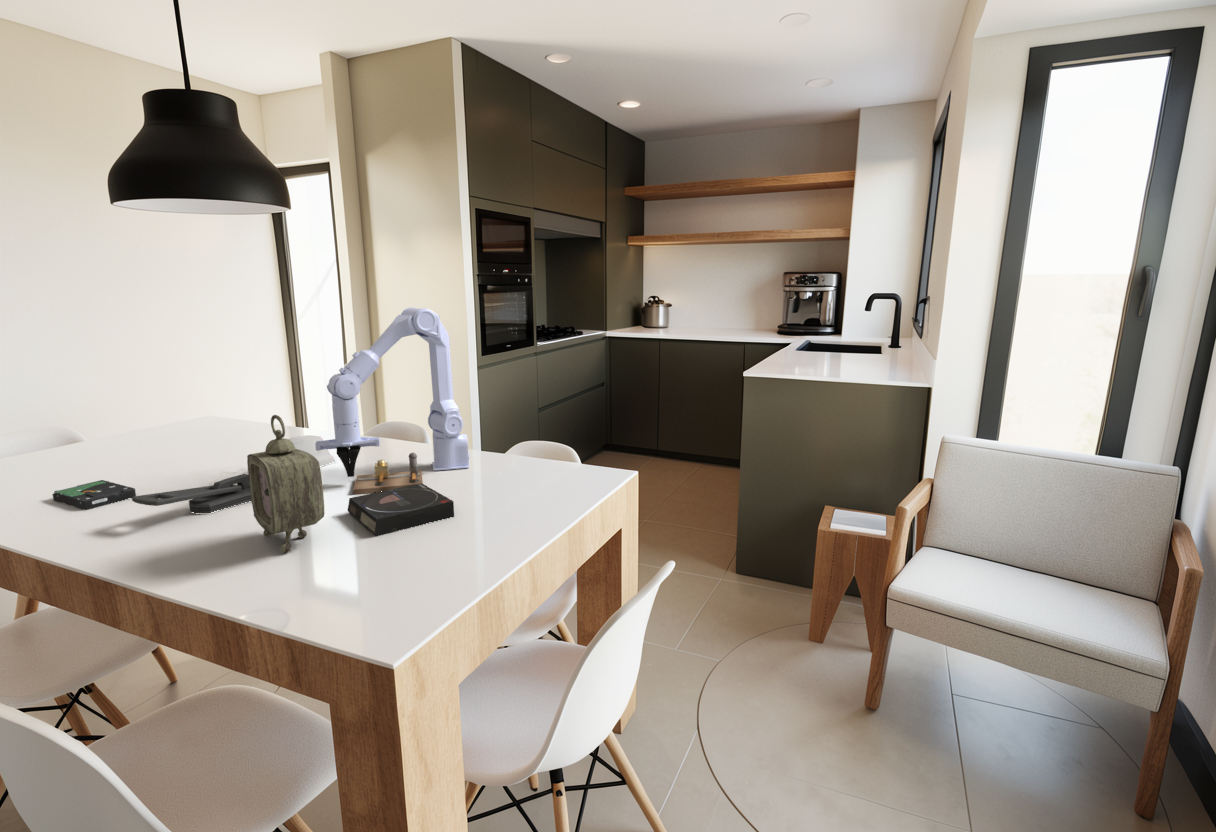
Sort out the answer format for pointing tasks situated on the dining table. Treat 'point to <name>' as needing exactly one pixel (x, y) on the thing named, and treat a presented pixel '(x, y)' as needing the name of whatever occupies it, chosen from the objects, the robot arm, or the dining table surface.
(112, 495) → the disk drive
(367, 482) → the plate
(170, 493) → the dark grey long piece
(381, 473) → the gold perfume bottle
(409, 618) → the dining table surface
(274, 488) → the tabletop clock
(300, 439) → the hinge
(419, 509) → the portable cd player
